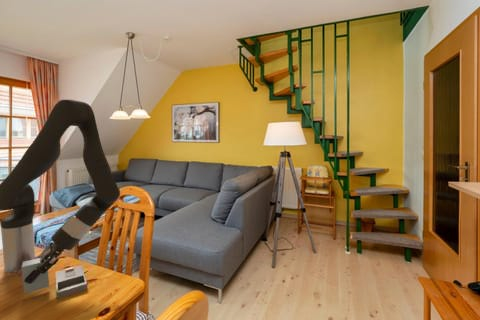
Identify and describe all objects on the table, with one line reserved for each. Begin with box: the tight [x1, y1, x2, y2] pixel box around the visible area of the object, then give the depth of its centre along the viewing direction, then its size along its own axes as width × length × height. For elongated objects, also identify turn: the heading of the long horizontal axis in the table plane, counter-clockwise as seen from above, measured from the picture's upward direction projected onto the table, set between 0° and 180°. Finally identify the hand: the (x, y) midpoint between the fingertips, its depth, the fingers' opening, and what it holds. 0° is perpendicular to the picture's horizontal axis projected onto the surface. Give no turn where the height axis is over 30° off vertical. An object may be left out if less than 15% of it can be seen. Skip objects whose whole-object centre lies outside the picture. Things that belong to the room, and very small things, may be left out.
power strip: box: [55, 264, 88, 300], centre depth 83 cm, size 15×8×4 cm, turn 38°
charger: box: [21, 258, 50, 295], centre depth 77 cm, size 4×6×8 cm, turn 128°
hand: (28, 278), depth 76 cm, fingers closed on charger, 4 cm apart
